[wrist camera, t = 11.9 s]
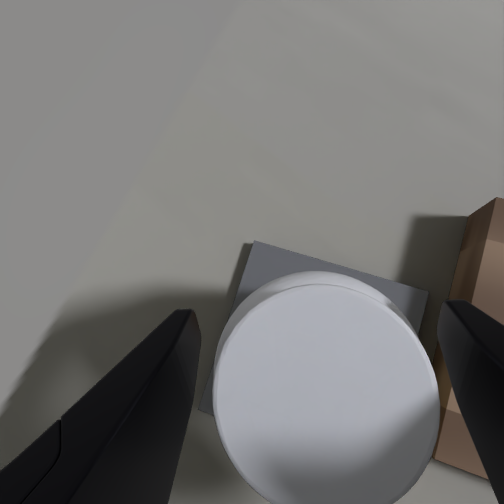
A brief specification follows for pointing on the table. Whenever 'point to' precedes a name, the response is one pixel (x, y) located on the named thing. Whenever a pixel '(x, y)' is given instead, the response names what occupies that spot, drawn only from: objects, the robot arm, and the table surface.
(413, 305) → the rubber mat
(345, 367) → the supplement bottle
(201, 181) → the table surface
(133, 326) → the table surface
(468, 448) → the walnut collar
